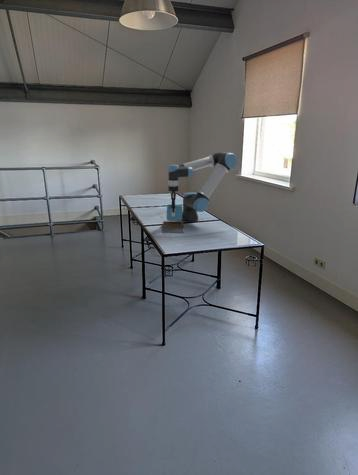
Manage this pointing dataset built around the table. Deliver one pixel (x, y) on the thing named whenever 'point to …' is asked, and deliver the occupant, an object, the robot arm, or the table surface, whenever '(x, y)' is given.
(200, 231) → the table surface
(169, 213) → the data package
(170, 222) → the walnut box
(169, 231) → the charcoal mat
